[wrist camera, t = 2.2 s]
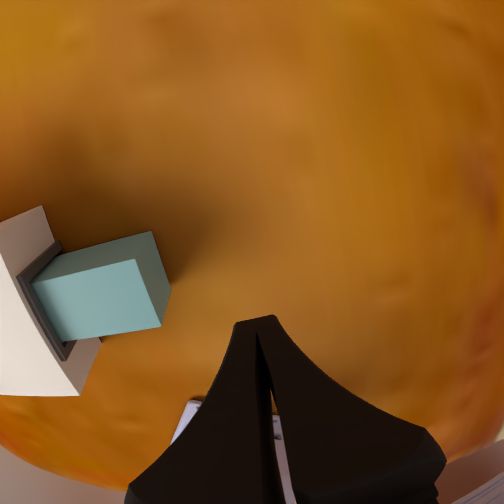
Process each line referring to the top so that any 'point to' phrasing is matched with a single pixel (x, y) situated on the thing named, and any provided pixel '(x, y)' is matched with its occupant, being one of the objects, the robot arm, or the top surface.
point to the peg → (104, 289)
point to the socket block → (34, 317)
